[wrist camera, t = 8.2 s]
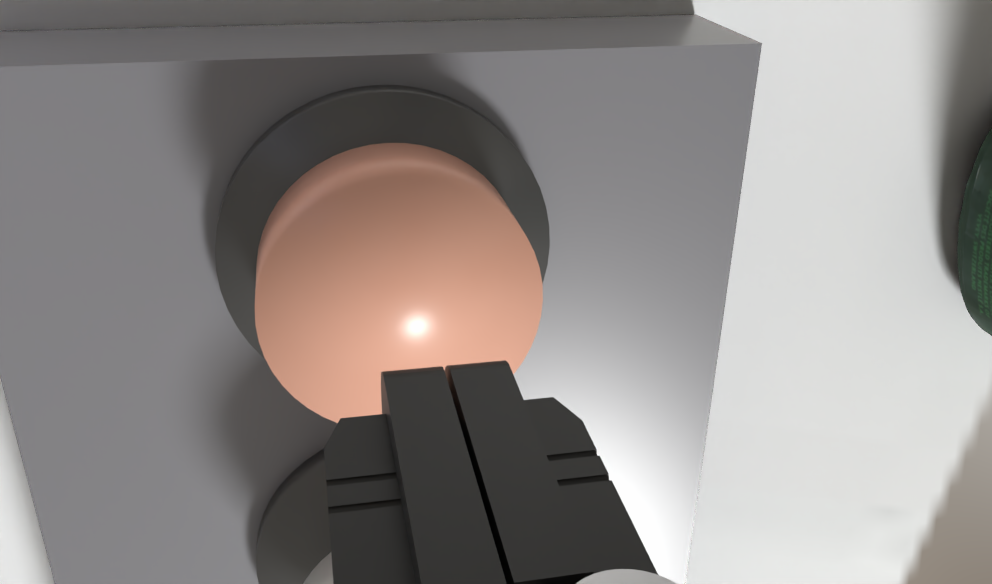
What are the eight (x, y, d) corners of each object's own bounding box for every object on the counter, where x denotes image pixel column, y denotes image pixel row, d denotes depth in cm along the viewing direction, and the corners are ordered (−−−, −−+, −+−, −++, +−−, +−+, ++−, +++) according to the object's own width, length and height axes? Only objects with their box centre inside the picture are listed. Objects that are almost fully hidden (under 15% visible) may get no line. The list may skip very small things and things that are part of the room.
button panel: (-25, 31, 17) (-92, 76, 14) (695, 14, 19) (774, 48, 16) (151, 789, 26) (134, 916, 23) (621, 705, 29) (662, 809, 26)
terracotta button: (242, 149, 15) (238, 183, 13) (523, 135, 15) (548, 166, 14) (270, 394, 17) (269, 446, 15) (516, 369, 18) (538, 416, 16)
